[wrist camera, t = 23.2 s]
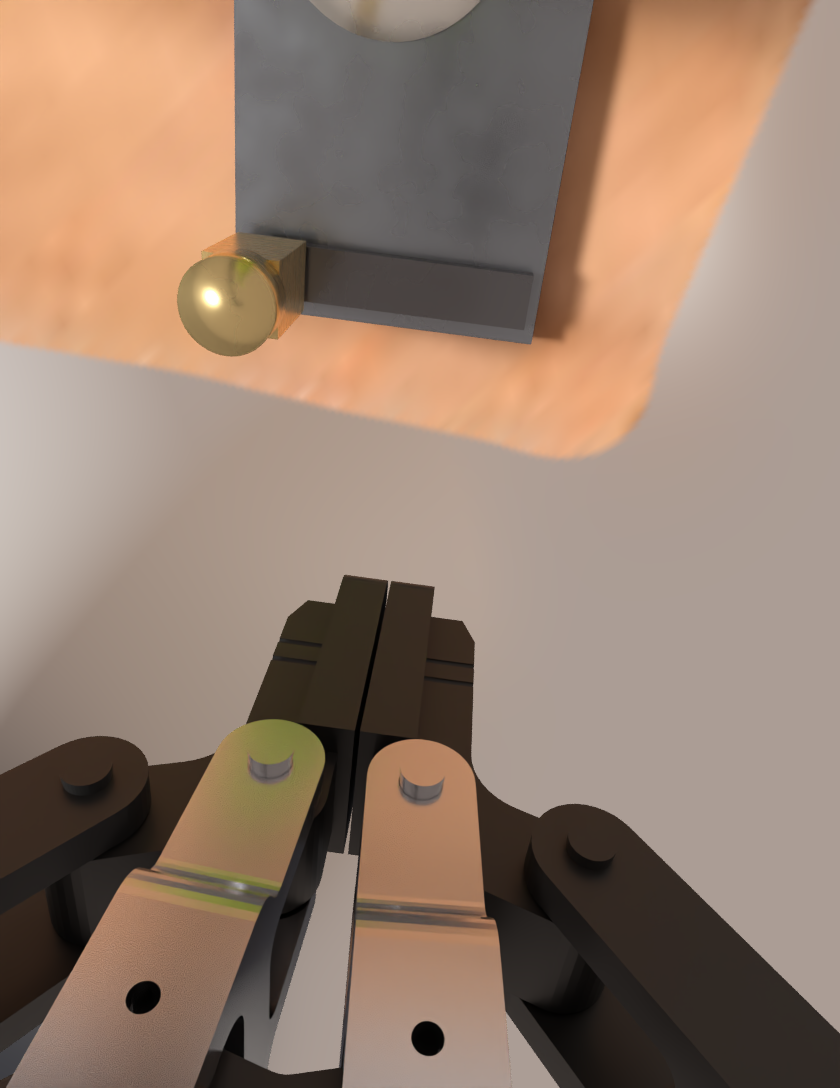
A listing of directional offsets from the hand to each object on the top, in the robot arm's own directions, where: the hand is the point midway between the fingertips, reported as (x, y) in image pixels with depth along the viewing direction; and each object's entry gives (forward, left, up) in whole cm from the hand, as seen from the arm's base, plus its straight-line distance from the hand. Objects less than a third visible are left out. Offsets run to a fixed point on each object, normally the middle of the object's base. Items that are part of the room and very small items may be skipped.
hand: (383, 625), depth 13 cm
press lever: (0, -8, -25) cm, 26 cm away
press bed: (-8, -3, -28) cm, 29 cm away
